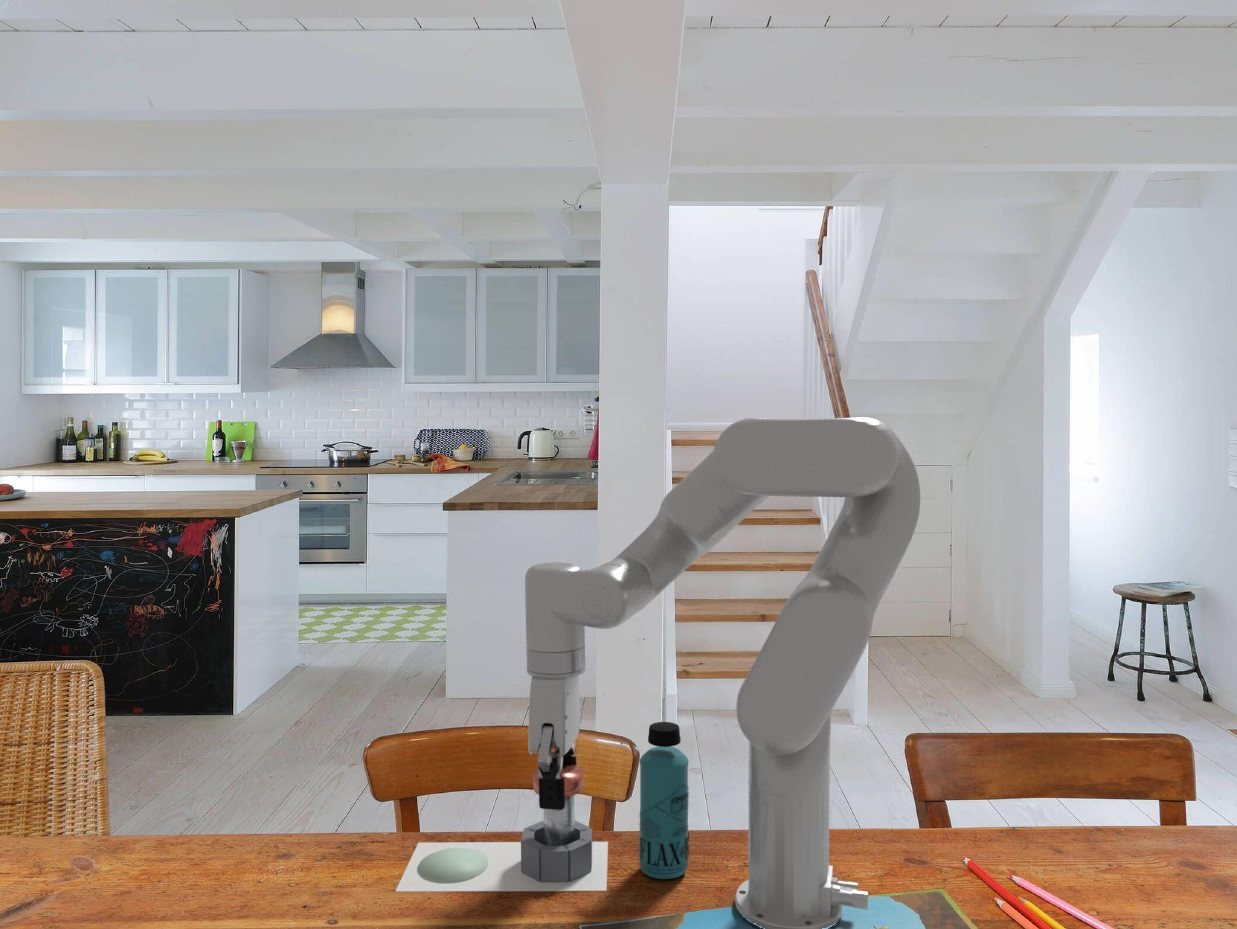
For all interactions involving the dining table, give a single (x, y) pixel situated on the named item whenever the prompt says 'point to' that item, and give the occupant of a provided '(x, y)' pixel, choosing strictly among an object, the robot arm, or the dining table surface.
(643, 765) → the beverage bottle
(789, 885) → the robot arm
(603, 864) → the board
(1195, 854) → the dining table surface
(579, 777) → the copper domed post
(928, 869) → the dining table surface
